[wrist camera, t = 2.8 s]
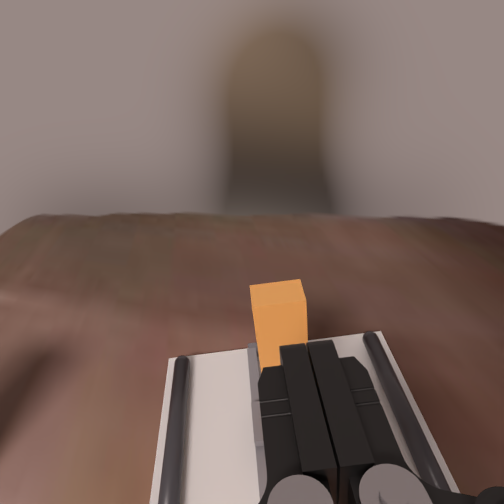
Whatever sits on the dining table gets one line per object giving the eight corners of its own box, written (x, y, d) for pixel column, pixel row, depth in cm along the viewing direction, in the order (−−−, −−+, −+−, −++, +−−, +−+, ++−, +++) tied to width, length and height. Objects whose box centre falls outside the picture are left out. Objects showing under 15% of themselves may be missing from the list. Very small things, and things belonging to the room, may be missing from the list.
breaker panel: (379, 340, 38) (381, 319, 37) (486, 563, 23) (496, 543, 22) (171, 367, 38) (165, 347, 37) (141, 609, 23) (129, 591, 22)
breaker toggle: (319, 398, 31) (316, 270, 24) (329, 436, 28) (328, 304, 22) (251, 407, 31) (231, 281, 24) (255, 446, 28) (232, 317, 22)
